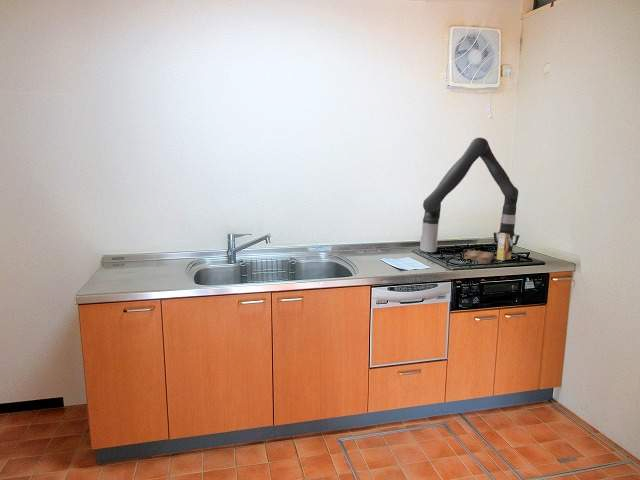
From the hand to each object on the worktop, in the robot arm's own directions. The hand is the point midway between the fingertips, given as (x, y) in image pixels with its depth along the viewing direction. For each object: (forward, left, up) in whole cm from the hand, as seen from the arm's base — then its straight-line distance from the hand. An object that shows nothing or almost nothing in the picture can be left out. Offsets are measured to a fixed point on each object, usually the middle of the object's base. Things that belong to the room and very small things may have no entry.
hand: (504, 251), depth 265 cm
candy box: (0, 0, -5) cm, 5 cm away
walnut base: (-13, -6, -5) cm, 15 cm away
